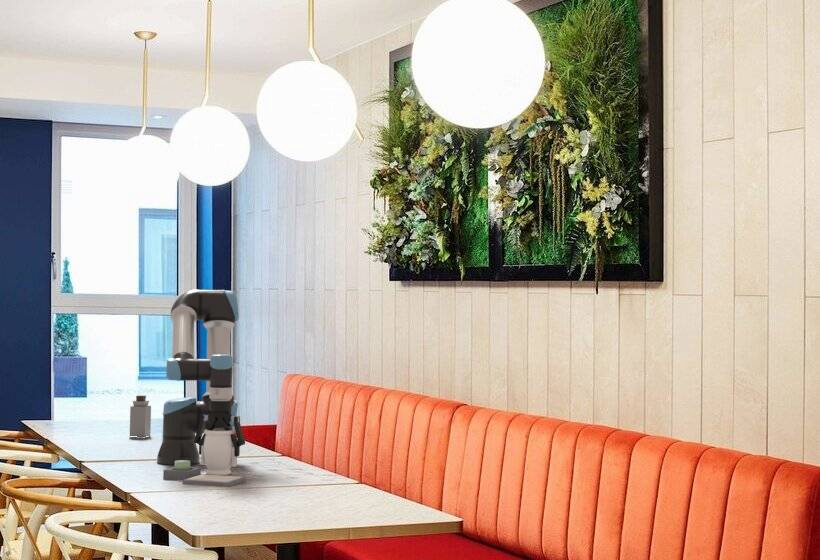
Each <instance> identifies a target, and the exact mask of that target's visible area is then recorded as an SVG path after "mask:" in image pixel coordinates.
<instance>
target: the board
mask: <svg viewBox="0 0 820 560" xmlns="http://www.w3.org/2000/svg"><path fill="white" fill-rule="evenodd" d="M246 480H247V477H243V476H237V475H236V476H235V475H233V476H232V475H208V474H205V473H204V474H202V473H201V475H198V476H195V477H192V478H188V479H185V480H182V483H181V484H182V485H193V486H194V485H195V486H209V487H224V488H231V487H232V486H235V485H236V486H237V485H238V484H239V485H240V484H241V483H244V482H246Z"/></svg>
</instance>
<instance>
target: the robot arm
mask: <svg viewBox="0 0 820 560" xmlns="http://www.w3.org/2000/svg"><path fill="white" fill-rule="evenodd" d="M169 316H170V321H171V323H172V347H171V349H172V353H171V354H172V356H171V358H168V359H167V360H166V369H165V370H166V371H165V372H166V376H165V377H166V379H167V380H168V381H177V382H180V381H182V382H183V381H184V382H185V381H186V382H187V381H191V382H192V381H194V382H195V381H199V382H201V381H202V382H203V381H204V382H206V392H205V393H204V394H203V395H202V397H201V401H200V400H197V398H196V396H195V397H194V396H191V397H189V396H187V397H181V398H180V397H179V398H174V399H169V400H166V401H165V402H164V404H163V410H162V411H163V412H162V415H163V417H162V419H163V420H162V422H163V423H162V441H161V445H160V446H159V447H160V448H159V449H158V450H159V451H158V453H157V457H156V462H157V464H160V465H172V466H173V465H174V466H175V461H178V460H188V461H190V465H194V464H199V463H200V465H201V466H206V464H205V457H204V439H205V436H206V434H205V433H204V430H205V429H207V430H210V431H213V429H215V428H224V429H225V430H226V431H230V430H233V429H234V430H235V433H234V434H231V441H232V443H233V445H234V446H233V447H232V465H231V468H232V467H233V468H234V467H237V466H238V457H240V453H241V451H240V448H241V446H244V445H246V440H245V437H244V434H243V429H242V426H241V416H239V415H238V416H237V414H238V406H239V405H238V404H239V403H238V401H237V400H235V395H234V394H233V391H232V390H233V385H232V384H233V366H234V364H233V361H234V360H233V356H232V355H231V330H232V329H233V328H234V327H235V322H236V323H237V322H238V321H239V317H240V315H239V304H238V299H237V294H236V293H235V291H233V290H225V289H191V290H188V291H186V292H184V293H183V294H181V295H180V296H178V298H177V299H176V300H175V301H174V303H173V304H172V306H171V309H170V315H169ZM196 321H199V322H200V321H203V327H204V328H205V329H206V331H207V333H206V335H207V337H206V341H207V342H206V358H195V323H196ZM197 445H198V446H197Z"/></svg>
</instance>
